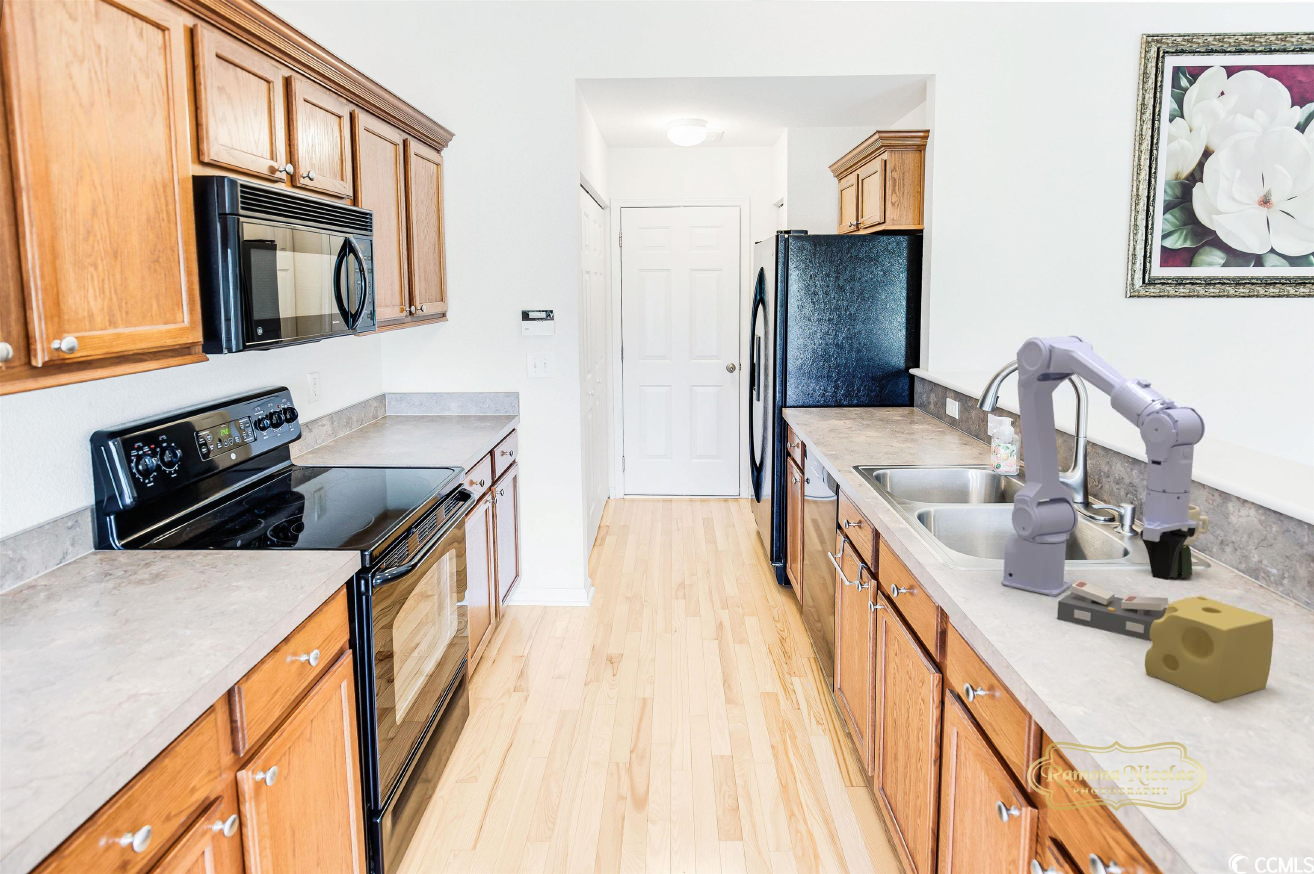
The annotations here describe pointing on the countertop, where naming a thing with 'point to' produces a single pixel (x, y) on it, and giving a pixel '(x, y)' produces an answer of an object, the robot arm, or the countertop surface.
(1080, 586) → the rocker
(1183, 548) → the character mug
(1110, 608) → the double switch panel
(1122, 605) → the rocker
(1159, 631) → the cheese
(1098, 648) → the countertop surface
